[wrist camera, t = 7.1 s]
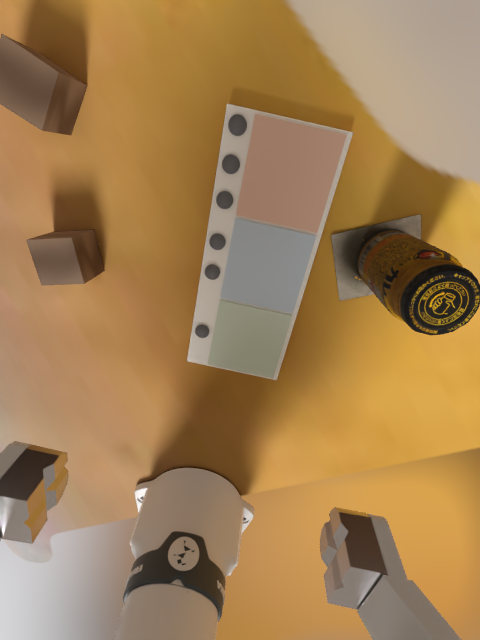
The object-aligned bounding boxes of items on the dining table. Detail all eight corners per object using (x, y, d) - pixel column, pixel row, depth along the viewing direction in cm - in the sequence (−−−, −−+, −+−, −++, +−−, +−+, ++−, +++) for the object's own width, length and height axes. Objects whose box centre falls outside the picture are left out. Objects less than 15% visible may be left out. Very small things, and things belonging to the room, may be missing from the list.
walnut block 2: (104, 270, 36) (84, 283, 32) (66, 272, 37) (41, 285, 32) (94, 229, 34) (71, 237, 30) (54, 231, 35) (26, 240, 31)
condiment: (421, 284, 34) (493, 338, 23) (339, 300, 36) (371, 358, 25) (419, 213, 31) (501, 238, 20) (330, 234, 33) (362, 267, 22)
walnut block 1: (71, 135, 31) (41, 130, 27) (25, 105, 30) (-12, 96, 26) (87, 85, 29) (58, 72, 25) (39, 53, 28) (1, 33, 24)
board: (276, 374, 40) (276, 381, 39) (189, 355, 40) (186, 362, 39) (350, 133, 29) (353, 132, 27) (228, 105, 29) (226, 102, 27)
